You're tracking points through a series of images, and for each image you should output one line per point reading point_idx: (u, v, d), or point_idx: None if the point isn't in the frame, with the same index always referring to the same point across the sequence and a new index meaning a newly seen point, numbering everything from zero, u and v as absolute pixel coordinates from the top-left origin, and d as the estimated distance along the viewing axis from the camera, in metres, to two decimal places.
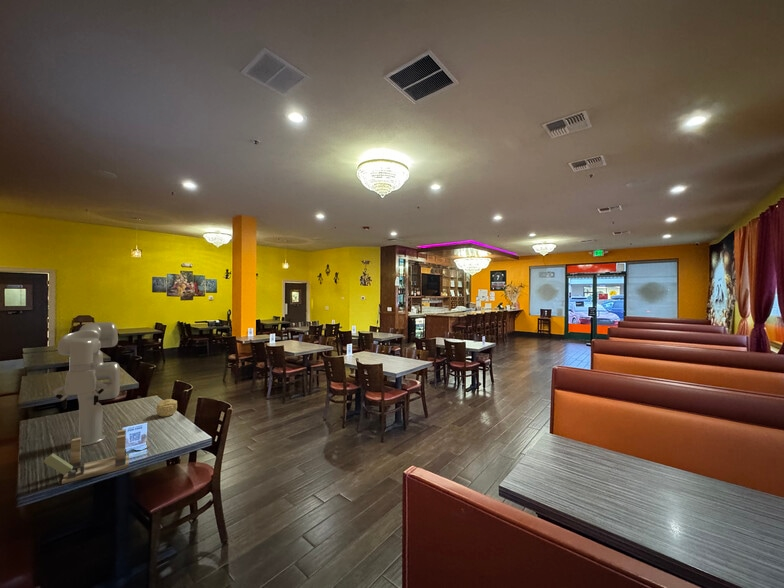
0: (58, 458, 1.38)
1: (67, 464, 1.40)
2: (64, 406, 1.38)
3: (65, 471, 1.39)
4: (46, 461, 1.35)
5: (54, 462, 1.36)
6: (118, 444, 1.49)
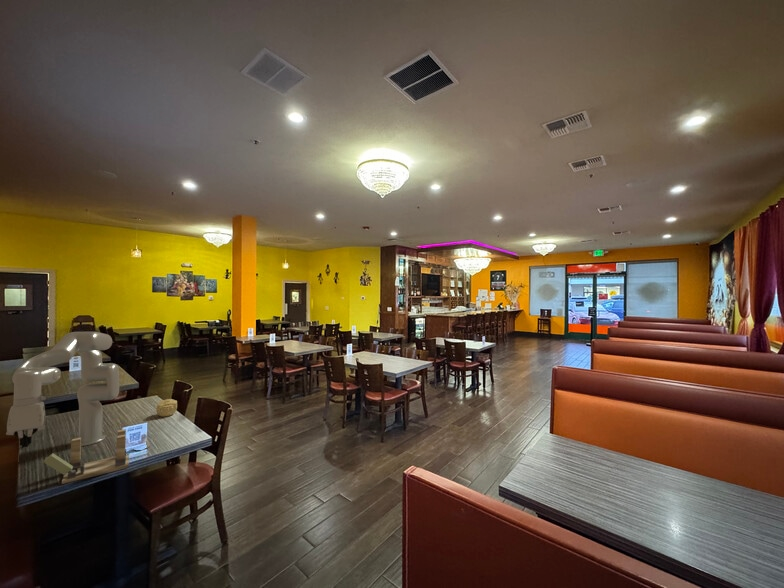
0: (58, 458, 1.38)
1: (67, 464, 1.40)
2: (23, 444, 1.31)
3: (65, 471, 1.39)
4: (46, 461, 1.35)
5: (54, 462, 1.36)
6: (118, 444, 1.49)
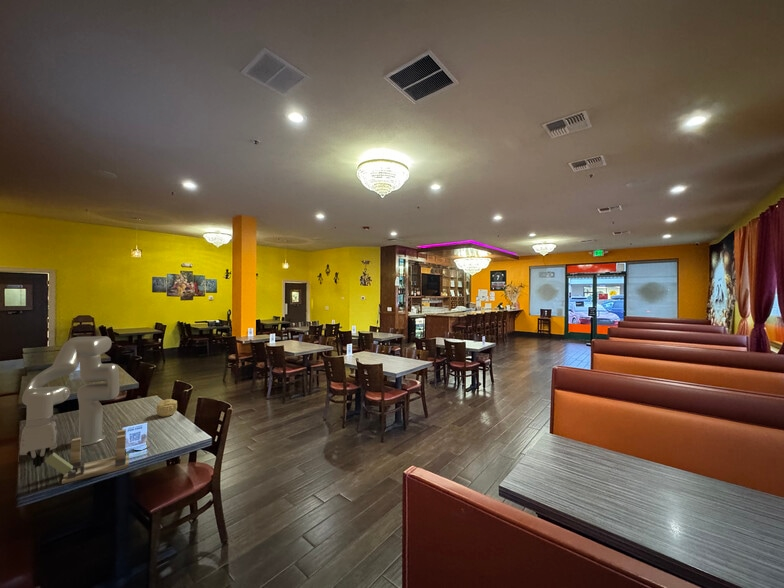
0: (59, 458, 1.38)
1: (67, 464, 1.40)
2: (36, 464, 1.33)
3: (65, 471, 1.39)
4: (46, 460, 1.35)
5: (55, 461, 1.37)
6: (118, 444, 1.49)
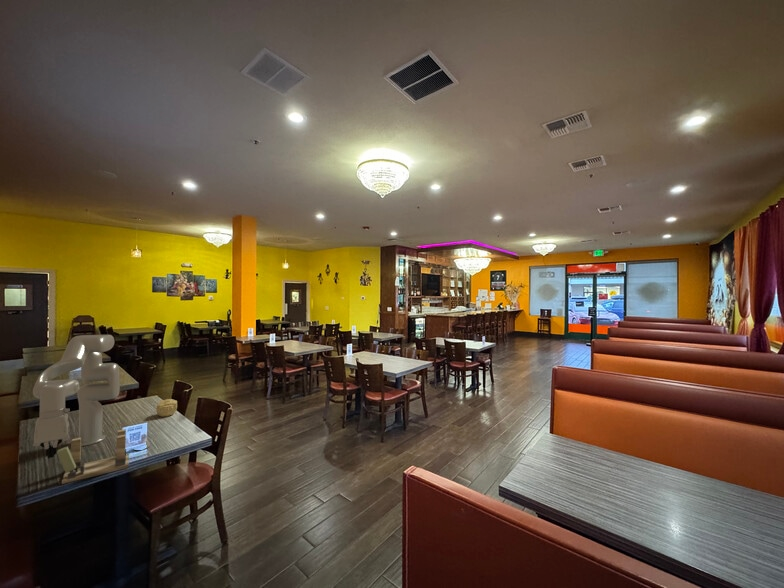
0: (69, 453, 1.40)
1: (73, 462, 1.41)
2: (49, 455, 1.35)
3: (68, 469, 1.39)
4: (59, 452, 1.37)
5: (65, 455, 1.39)
6: (118, 444, 1.49)
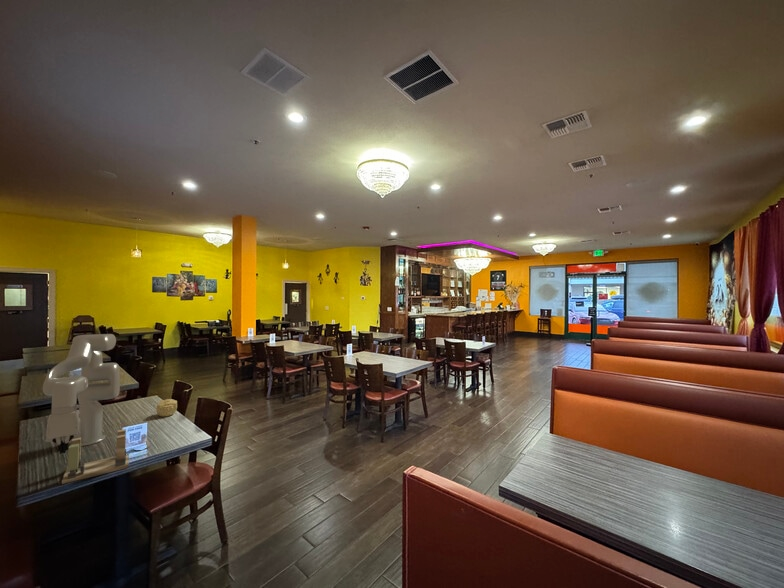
0: (78, 451, 1.42)
1: (78, 461, 1.42)
2: (61, 450, 1.38)
3: (71, 468, 1.40)
4: (70, 448, 1.40)
5: (74, 453, 1.40)
6: (118, 444, 1.49)
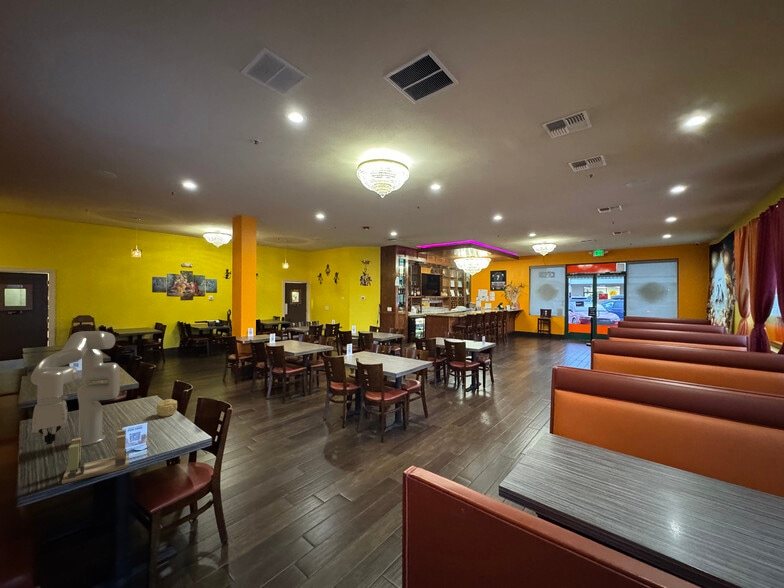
0: (78, 451, 1.42)
1: (78, 461, 1.42)
2: (47, 441, 1.36)
3: (71, 468, 1.40)
4: (70, 448, 1.40)
5: (74, 453, 1.40)
6: (118, 444, 1.49)
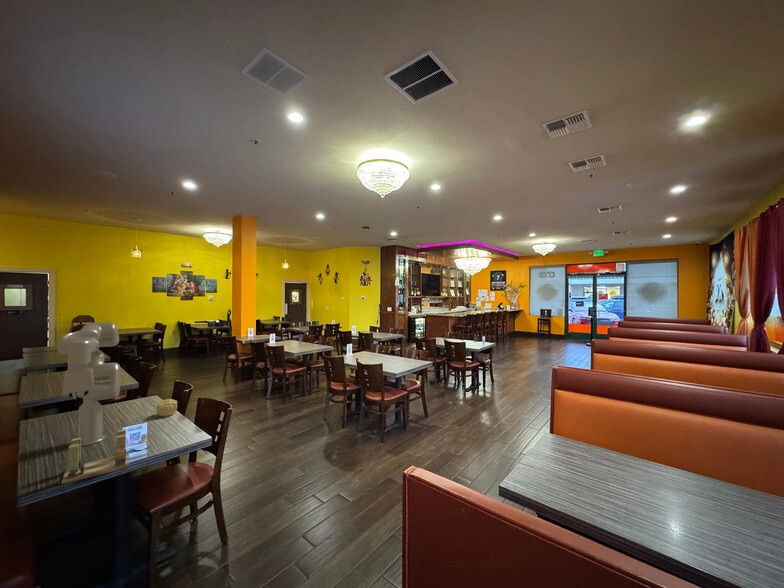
0: (78, 451, 1.42)
1: (78, 461, 1.42)
2: (76, 404, 1.47)
3: (71, 468, 1.40)
4: (70, 448, 1.40)
5: (74, 453, 1.40)
6: (118, 444, 1.49)
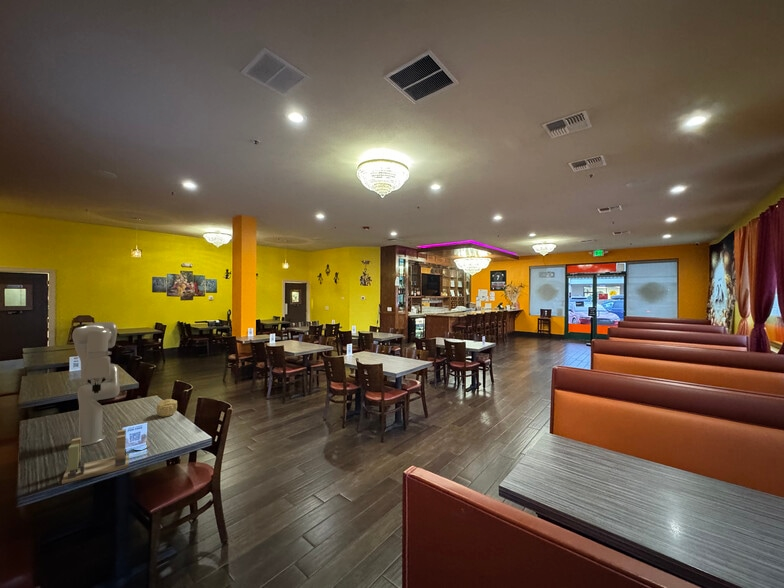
0: (78, 451, 1.42)
1: (78, 461, 1.42)
2: (94, 390, 1.55)
3: (71, 468, 1.40)
4: (70, 448, 1.40)
5: (74, 453, 1.40)
6: (118, 444, 1.49)
